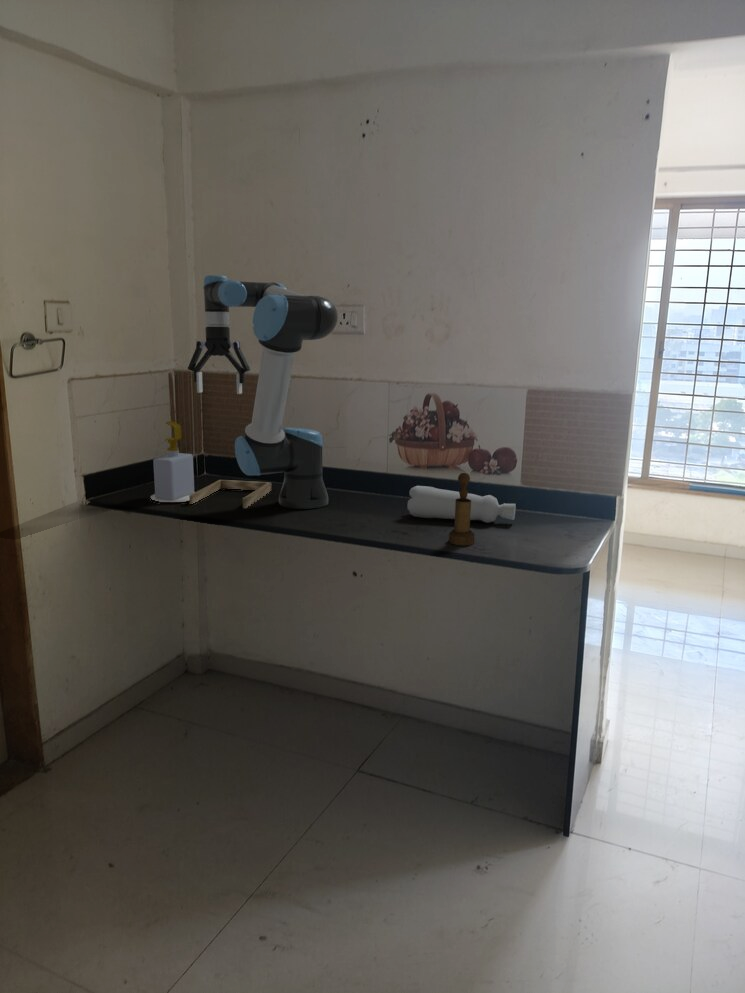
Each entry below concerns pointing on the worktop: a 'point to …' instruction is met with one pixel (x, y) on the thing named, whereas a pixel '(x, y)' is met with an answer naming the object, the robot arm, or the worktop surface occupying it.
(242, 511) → the worktop surface
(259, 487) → the frame
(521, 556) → the worktop surface
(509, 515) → the bottle
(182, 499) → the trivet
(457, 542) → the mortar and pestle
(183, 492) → the soap bottle
